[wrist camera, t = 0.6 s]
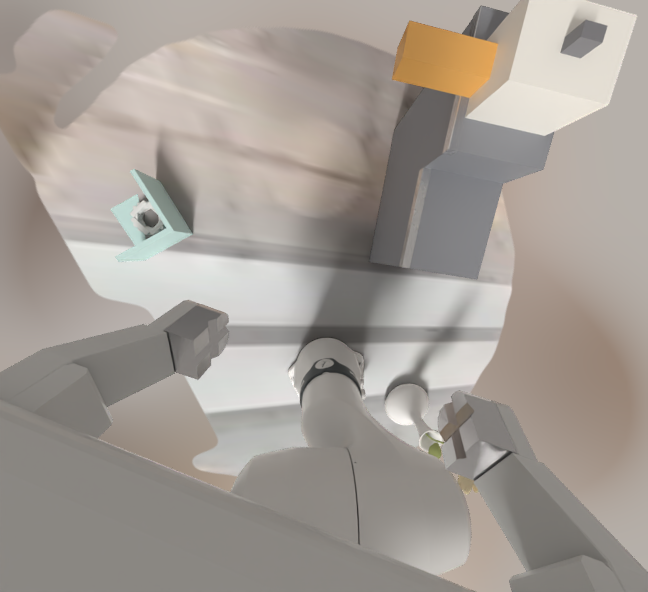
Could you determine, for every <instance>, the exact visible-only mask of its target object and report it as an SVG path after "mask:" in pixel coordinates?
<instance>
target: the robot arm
mask: <svg viewBox="0 0 648 592" xmlns="http://www.w3.org/2000/svg"><path fill="white" fill-rule="evenodd" d="M228 322H229V318H228V314H226V313H224V312H222V311H219V310H216V309H213V308H211V307H208V306H205V305H202V304H198V303H196V302H193V301H190V300H185V301H183V302H181V303H180V304H178V305H177V306H175V307H174V308H172V309H171V310H170V311H168V312H167V313H165V314H164V315H162V316H161V317H159V318H158V319H156V320H155V321H154V322H152V323H151V324H149V325H148V326H147V325H144V324H142V325H139V326H134V327H130V328H126V329H122V330H118V331H114V332H110V333H106V334H102V335H98V336H94V337H90V338H86V339H82V340H78V341H74V342H70V343H66V344H62V345H57V346H53V347H49V348H46V349H42V350H40V351H38V352H36V353H34V354H33V355H31V356H29V357H27V358H25V359H24V360H22V361H20V362H18V363H16V364H15V365H13V366H11V367H9V368H7V369H6V370H4V371H2V372H0V592H475V591H473V590H470V589H467V588H465V587H463V586H460V585H458V584H455V583H453V582H450V581H448V580H445V579H443V578H441V577H438V575H440V574H443V573H446V572H448V571H450V570H453V569H455V568H457V567H460V566H462V565H463V564H464V563H465V562H466V560H467V558H468V554H469V551H470V545H471V535H472V534H471V533H472V532H471V519H470V513H469V509H468V505H467V502H466V499H465V497H464V494H463V492H462V490H461V488H460V486H459V484H458V482H457V480H456V479H455V477H454V476H453V474H452V473H451V472H453V473H455V474H458V475H461V476H463V477H466V478H468V479H471V480H473V481H474V484H475V486H476V487H477V489H478V491H479V492H480V494H481V496H482V497H483V499H484V501H485V502H486V504H487V505H488V507H489V509H490V511H491V512H492V514H493V516H494V518H495V519H496V521H497V522H498V524H499V526H500V527H501V529H502V531H503V532H504V534H505V536H506V538H507V539H508V541H509V542H510V544H511V546H512V548H513V549H514V551H515V552H516V554H517V556H518V558H519V559H520V561H521V563H522V564H523V566H524V568H525V569H526V571H527V572H525V573H522V574H518V575H515V576H513V577H512V578H511V579H510V580H509V583H510V587H511V590H512V592H648V572H647V571H646V570H645V569H644V568H643V567H642V566H641V564H640V563H639V562H638V561H637V560H636V559H635V558H633V556H632V555H631V554H630V553H629V552H628V551H627V550H626V549H625V548H624V547H623V546H622V545H621V544H620V543H619V541H618V540H617V539H615V537H614V536H613V535H612V534H611V533H610V532H609V531H608V530H607V529H606V528H605V527H604V526H603V525H602V524H601V523H600V522H599V521H598V520H597V519H596V517H595V516H593V514H592V513H591V512H590V511H589V510H588V509H587V508H586V507H585V506H584V505H583V504H582V503H581V502H580V501H579V500H578V499H577V498H576V497H575V496H574V495H573V493H572V492H571V491H570V490H568V488H567V487H566V486H565V485H564V484H563V483H562V482H561V481H560V480H559V479H558V478H557V477H556V476H555V475H554V474H553V473H552V472H551V471H550V469H549V468H548V467H546V466H545V464H544V463H541V462H538V460H537V459H536V456H535V454H534V452H533V450H532V448H531V446H530V444H529V442H528V440H527V438H526V436H525V434H524V432H523V430H522V428H521V426H520V424H519V421H518V419H517V417H516V415H515V413H514V411H513V410H512V409H511V408H510V407H509V406H508V405H504V404H501V403H498V402H495V401H490V400H488V399H485V398H482V397H479V396H476V395H473V394H470V393H467V392H464V391H460V390H458V391H456V392H455V393H454V394H453V395H452V396H451V398H452V402H451V403H448V404H445V405H444V406H443V407H442V409H441V410H440V413H439V416H438V430H439V434H440V435H441V436H442V438H443V439H444V441H445V442H444V444H443V445H442V452H443V458H444V463H443V462H442V461H441V460H439V459H438V458H437V457H435V456H433V455H431V454H428V453H426V452H423V451H421V450H419V449H417V448H415V447H413V446H411V445H409V444H407V443H406V442H404V441H402V440H401V439H399V438H398V437H396V436H395V435H393V434H392V433H391V432H390V431H388V430H387V429H386V428H385V427H383V426H382V425H381V424H380V423H379V422H378V421H376V420H375V419H374V418H373V417H372V416H371V414H370V413H369V412H368V410H367V408H366V406H365V404H364V402H363V399H365V390H364V389H363V385H364V380H363V368H364V358H363V356H362V354H360V353H358V352H355V351H353V350H351V349H350V348H349V347H348V346H347V345H346V344H344V343H343V342H341V341H339V340H337V339H333V338H320V339H317V340H314V341H312V342H310V343H309V344H307V345H306V346H305V347H304V348H303V349H302V351H301V352H300V354H299V356H298V359H297V361H296V362H295V363H294V364H293V365H292V366H291V367H290V368H289V370H288V375H289V378H290V380H291V382H292V384H293V386H294V388H295V390H296V392H297V394H298V396H299V398H300V404H301V408H302V414H301V430H302V434H303V437H304V439H305V441H306V443H307V445H308V446H309V447H292V448H287V449H282V450H277V451H272V452H268V453H264V454H260V455H256V456H254V457H253V458H252V459H251V460H250V461H249V462H248V463H247V464H246V465H245V467H244V468H243V469H242V471H241V472H240V474H239V475H238V477H237V479H236V481H235V483H234V485H233V487H232V489H231V492H228V491H226V490H223V489H221V488H218V487H216V486H214V485H211V484H209V483H206V482H203V481H201V480H199V479H196V478H194V477H191V476H189V475H186V474H184V473H181V472H179V471H177V470H174V469H172V468H169V467H167V466H164V465H162V464H159V463H157V462H154V461H152V460H149V459H147V458H144V457H142V456H140V455H137V454H135V453H132V452H130V451H127V450H125V449H122V448H119V447H117V446H115V445H112V444H110V443H107V442H105V441H103V440H100V439H98V437H99V436H100V435H101V434H102V433H103V432H104V431H105V430H107V429H108V428H109V427H110V426H111V425H112V420H113V419H112V417H111V415H110V413H109V411H108V409H107V407H108V406H110V405H112V404H114V403H116V402H118V401H120V400H122V399H124V398H126V397H128V396H130V395H132V394H134V393H136V392H138V391H140V390H142V389H144V388H146V387H149V386H151V385H152V384H155V383H157V382H158V381H161V380H163V379H165V378H166V377H169V376H171V375H173V374H175V372H176V373H179V374H182V375H185V376H188V377H192V378H195V379H199V378H200V377H201V376H202V375H203V374H204V372H205V371H206V370H207V369H208V368H209V367H210V366H211V359H212V358H215V357H217V356H219V355H220V354H221V353H222V351H223V350H224V348H225V346H226V344H227V343H228V338H229V331H228V329H227V328H226V325H227V323H228ZM358 362H360V364H359V363H358ZM293 376H294V377H293Z"/></svg>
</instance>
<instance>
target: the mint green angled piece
mask: <svg viewBox="0 0 648 592" xmlns="http://www.w3.org/2000/svg"><path fill="white" fill-rule="evenodd" d="M130 172H131V174H132V175H133V177H134V179H135V180H136V182H137V183H138V185H139V186H140V188H141V189H142V191H143V192H144V194H145V196H146V197H147V199H148V200H149V201H148V202H147V201H144V200H142V201H141V203H140V202H139V199H138V194H136V195H135V196H133V197H131V198H129V199H127V200H126V201H124V202H122V203H120V204H119V205H117V206H115V207H113V208H111V211H112V212H113V214H114V215H115V217H116V218H117V220H118V221H119V222H120V224H121V225H122V227H123V228H124V230H125V231H126V233H127V234H128V236H129V237H130V239H131V240H132V241H133V243H134V244H135V246H134V247H132V248H130V249H128V250H126V251H125V252H123V253H121V254H119V255H117V256H115V257H116V259H117V260H118V262H124V261H143V260H147V259H149V258H151V257H152V256H154V255H156V254H158V253H160V252H162V251H163V250H165V249H167V248H169V247H171V246H172V245H174V244H176V243H178V242H180V241H181V240H183V239H185V238H187V237H189V236H190V235H192V234H193V233H192V232H191V230H190V228H189V227H188V225H187V224H186V222H185V220H184V219H183V217H182V216H181V214H180V212H179V211H178V209H177V208H176V206H175V204H174V203H173V201H172V200H171V198H170V196H169V195H168V193H167V192H166V190H165V188H164V187H163V185H162V184H161V182H160V181H158V180H156V179H154V178H152V177H150V176H148V175H146V174H144V173H142V172H140V171H138V170H135V169H133V170H131V171H130ZM150 209H152V210H153V211H154V212H155V213H156V214H157V215H158V223H157V224H156V225H155V226H154V227H149V226H147V225H146V224H145V222H144V221H143V218H144V212H146V211H148V210H150ZM145 235H153V236H152V237H150V238H148V239H145Z"/></svg>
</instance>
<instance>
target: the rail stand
mask: <svg viewBox="0 0 648 592" xmlns="http://www.w3.org/2000/svg"><path fill="white" fill-rule="evenodd" d="M508 14H509V13H507V12H503V11H500V10H496V9H492V8H489V7H485V6H480V8H479V9H478V10H477V12H476V13H475V15H474V16H473V19H472V20H471V22H470V23H469V25H468V26H467V28H466V29H465V30H464V32H463V33H462V34H463V35H467V36H471V37H474V38H478V39H482V40H487V39H488V38H489V37H490V36H491V35H492V33H493V32H494V31H495V30H496V29H497V27H498V26H499V25H500V24H501V23H502V21H503V20H504V19H505V18H506V17H507V16H508ZM468 102H469V98H468V97H464V96H459V95H455V94H451V93H447V92H442V91H438V90H434V89H430V88H426V87H424V89H423V90H422V91H421V93H420V94H419V96H418V97H417V98H416V100H415V101H414V103H413V104H412V106H411V107H410V108H409V110H408V111H407V113H406V114H405V116H404V117H403V118H402V120H401V121H400V123H399V124H398V125H397V127H396V128H395V130H394V134H393V139H392V145H391V150H390V155H389V160H388V166H387V171H386V176H385V181H384V187H383V192H382V197H381V202H380V208H379V213H378V218H377V223H376V229H375V234H374V239H373V244H372V249H371V255H370V260H369V262H372V263H379V264H385V265H391V266H397V267H403V268H409V269H415V270H422V271H428V272H434V273H440V274H446V275H452V276H459V277H465V278H471V279H477V278H478V274H479V271H480V267H481V263H482V260H483V256H484V252H485V249H486V245H487V241H488V238H489V234H490V230H491V226H492V223H493V219H494V215H495V212H496V208H497V204H498V201H499V197H500V193H501V189H502V185H503V183H506V182H509V181H512V180H515V179H518V178H521V177H523V176H526V175H529V174H532V173H535V172H538V171H541V170H543V169H544V166H545V162H546V159H547V155H548V152H549V148H550V145H551V142H552V138H553V135H554V132H555V131H554V132H552V133H550V134H548V135H546V136H543V135H539V134H534V133H530V132H525V131H521V130H517V129H512V128H508V127H504V126H499V125H495V124H490V123H486V122H482V121H477V120H473V119H468V118H465V115H466V111H467V107H468Z"/></svg>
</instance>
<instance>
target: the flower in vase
mask: <svg viewBox="0 0 648 592" xmlns="http://www.w3.org/2000/svg"><path fill="white" fill-rule="evenodd" d="M428 408H429V399H428V395H427V393H426V391H425V390H424V389H423V388H422V387H420V386H418V385H415V384H402V385H399V386H397V387H395V388H394V389H393V390H392V391H391V392H390V393H389V395H388V396H387V398H386V402H385V410H386V413H387V415H388V417H389V418H390V419H391V420H393V421H394V422H396V423H398V424H401V425H411V424H414V425H415V426H416V428H417V430H418V433H419V436H420V438H419V446H420V447H421V449H423V450H424V451H428V453H429V454H431V455H433V456H435V457H437V458H438V459H439V458H440V456H441V449H440V446H441V444H444V442H442V441H443V438H442V436H441V435H440V434H439V432H438V431H436V430H432V429H431V428H429V427H428V426H427V425H426V423H425V422H424V421H423V417H424V416H425V415H426V413H427V411H428ZM458 477H459V478H458V484H459V486H460V488H461V490H463V491H464V493H465V494H467V495H468V494H469V493H470V492H471V490H472V487H473V490H474V492H475V493H477V492H479V491H478V489H477V487H476V486H475V484H474V481H473V480H471V479H468V478H466V477H463V476H461V475H458Z"/></svg>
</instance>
